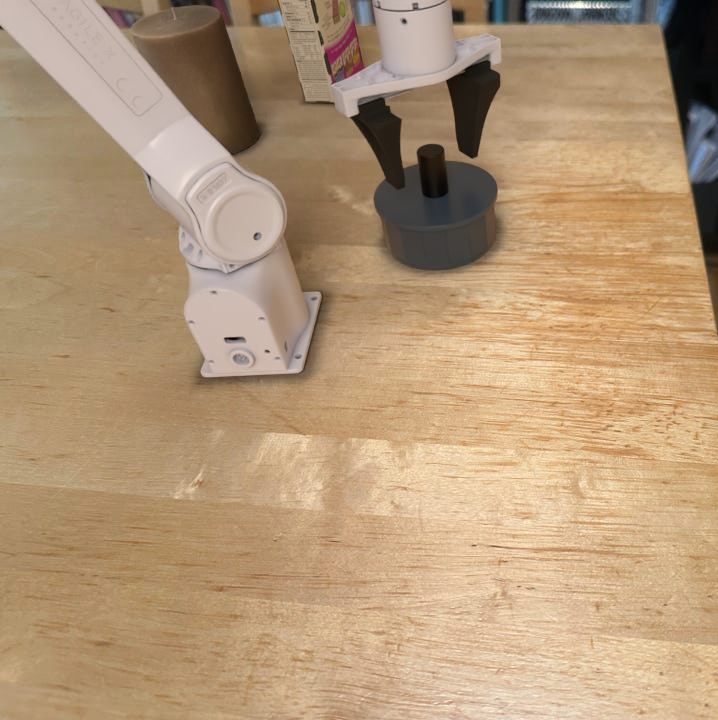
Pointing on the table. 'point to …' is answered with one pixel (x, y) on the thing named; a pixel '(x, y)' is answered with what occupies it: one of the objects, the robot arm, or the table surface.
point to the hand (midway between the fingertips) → (433, 168)
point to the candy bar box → (321, 44)
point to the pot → (441, 244)
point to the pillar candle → (200, 70)
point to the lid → (436, 193)
